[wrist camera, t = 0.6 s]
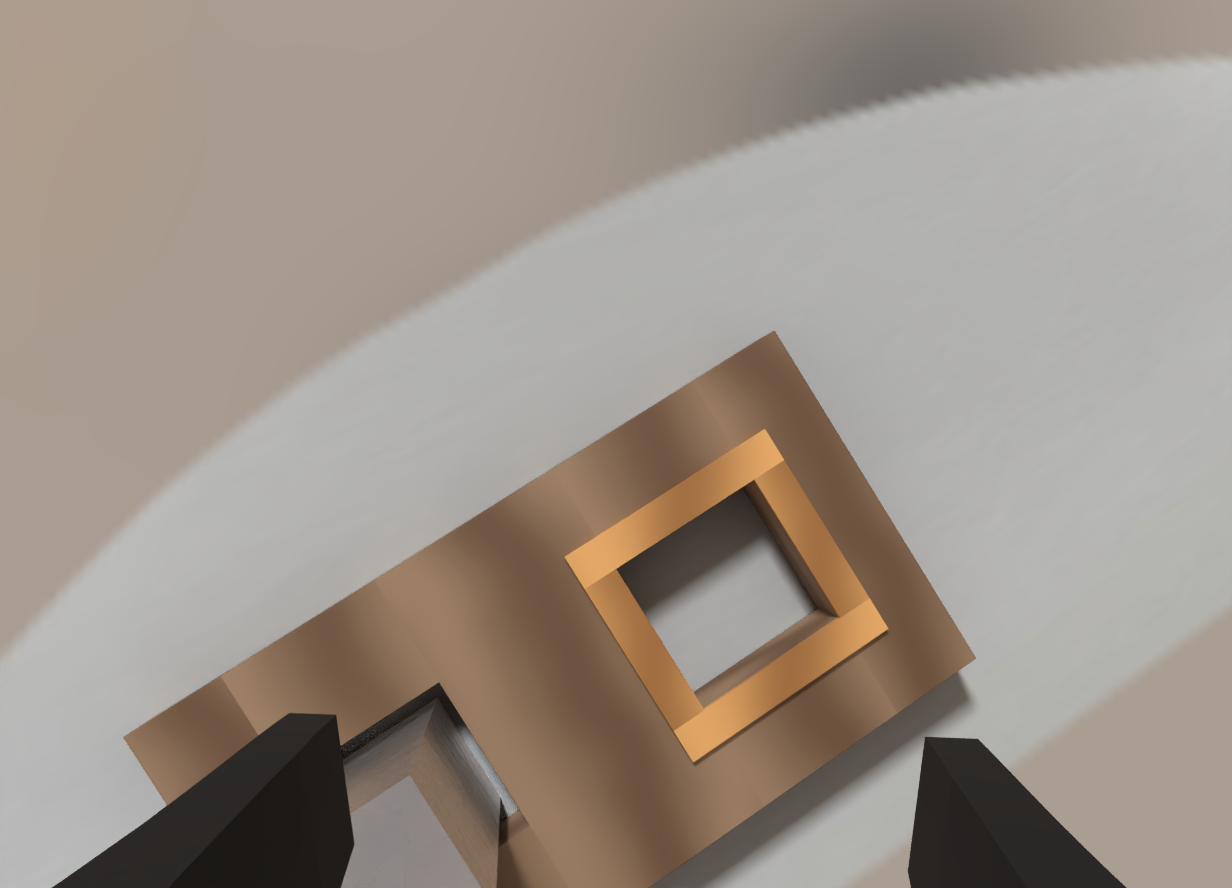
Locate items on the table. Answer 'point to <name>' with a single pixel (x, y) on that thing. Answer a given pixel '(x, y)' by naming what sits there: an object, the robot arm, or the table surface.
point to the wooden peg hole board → (615, 639)
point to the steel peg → (421, 809)
